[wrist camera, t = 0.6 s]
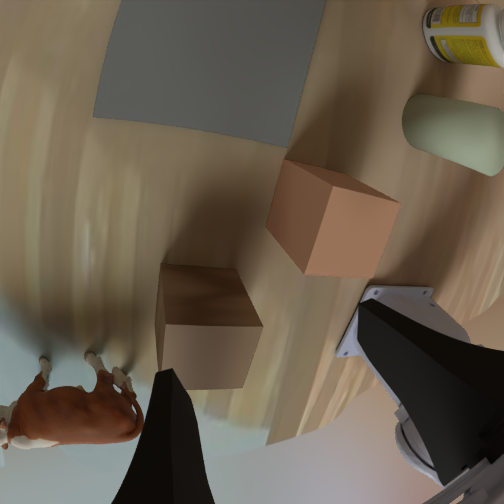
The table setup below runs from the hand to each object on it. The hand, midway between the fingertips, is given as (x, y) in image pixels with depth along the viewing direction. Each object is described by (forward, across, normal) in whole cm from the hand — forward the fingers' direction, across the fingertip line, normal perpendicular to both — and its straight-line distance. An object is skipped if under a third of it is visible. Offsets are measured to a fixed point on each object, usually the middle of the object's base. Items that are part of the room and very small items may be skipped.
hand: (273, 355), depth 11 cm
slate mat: (+10, -2, -12) cm, 16 cm away
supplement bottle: (+10, -20, -12) cm, 26 cm away
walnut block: (+10, +3, +4) cm, 11 cm away
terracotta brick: (+10, -6, -1) cm, 12 cm away
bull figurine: (+10, +15, +7) cm, 20 cm away
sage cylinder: (+10, -17, -5) cm, 20 cm away
